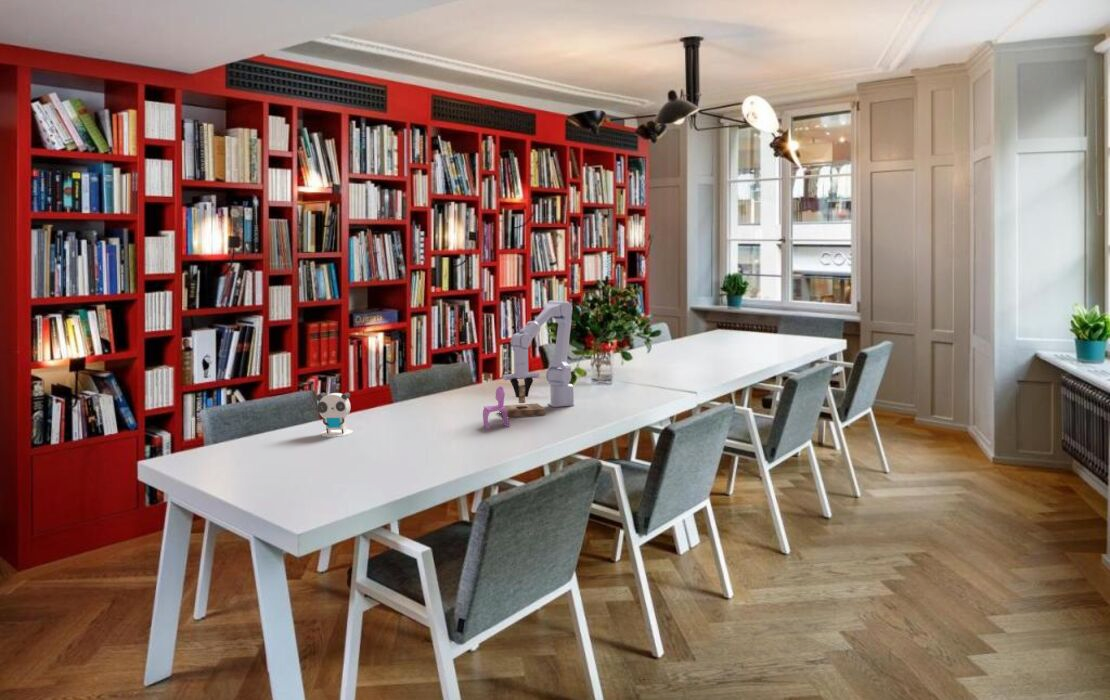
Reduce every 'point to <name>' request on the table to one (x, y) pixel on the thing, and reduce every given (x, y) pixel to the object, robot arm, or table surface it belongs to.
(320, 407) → the panda figurine
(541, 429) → the table surface
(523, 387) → the peg
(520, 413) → the board
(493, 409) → the toy chair
